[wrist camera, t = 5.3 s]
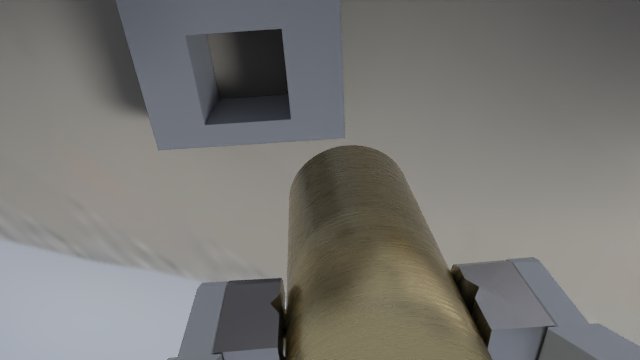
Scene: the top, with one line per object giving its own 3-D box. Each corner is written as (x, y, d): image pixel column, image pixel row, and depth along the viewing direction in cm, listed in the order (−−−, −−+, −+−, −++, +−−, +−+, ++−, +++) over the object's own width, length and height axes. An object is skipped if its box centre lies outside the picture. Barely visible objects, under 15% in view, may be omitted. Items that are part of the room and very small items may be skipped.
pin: (410, 141, 11) (638, 519, 4) (405, 242, 12) (556, 646, 5) (284, 150, 10) (259, 552, 3) (294, 251, 12) (292, 671, 5)
